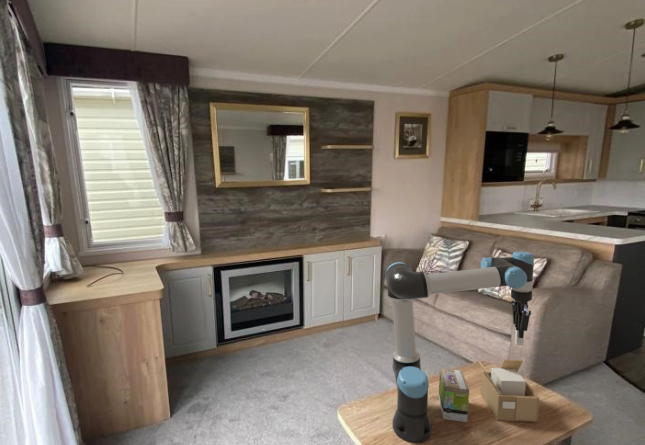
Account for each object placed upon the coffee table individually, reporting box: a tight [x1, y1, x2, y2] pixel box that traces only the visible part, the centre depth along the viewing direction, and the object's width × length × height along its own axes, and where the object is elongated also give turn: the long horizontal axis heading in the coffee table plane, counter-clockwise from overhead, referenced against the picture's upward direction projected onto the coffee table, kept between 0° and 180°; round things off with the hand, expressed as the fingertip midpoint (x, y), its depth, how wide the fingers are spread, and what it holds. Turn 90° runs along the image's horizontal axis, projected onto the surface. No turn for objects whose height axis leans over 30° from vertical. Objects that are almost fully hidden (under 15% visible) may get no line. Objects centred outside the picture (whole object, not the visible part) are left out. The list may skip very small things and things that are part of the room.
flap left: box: [478, 360, 499, 392], centre depth 147 cm, size 10×9×1 cm
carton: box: [480, 367, 540, 423], centre depth 149 cm, size 16×19×15 cm
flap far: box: [499, 359, 524, 372], centre depth 154 cm, size 10×8×1 cm
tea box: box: [438, 368, 470, 423], centre depth 149 cm, size 15×10×15 cm, turn 168°
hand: (519, 343), depth 143 cm, fingers closed
